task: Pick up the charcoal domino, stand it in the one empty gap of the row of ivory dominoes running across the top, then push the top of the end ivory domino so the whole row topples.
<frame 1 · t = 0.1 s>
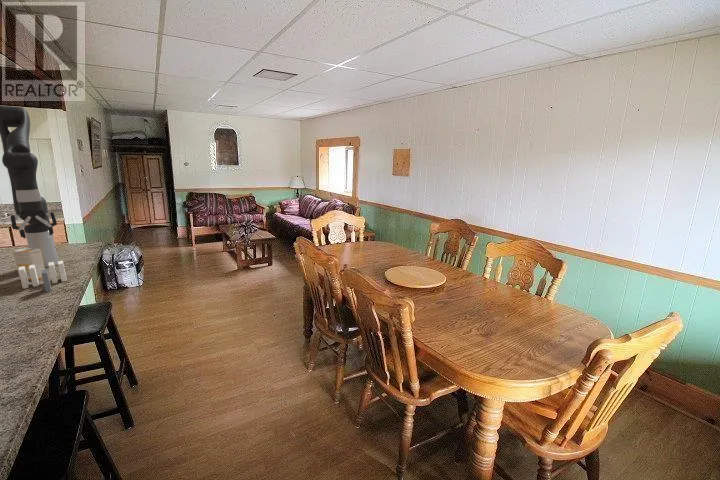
hand: (38, 236, 149), 17 cm above the table, tool pointing down, fingers open, 8 cm apart
ivory domino 5: (26, 286, 139), on the table
charcoal domino: (48, 289, 136), on the table
ivory domino 1: (64, 279, 147), on the table
supplement box: (33, 278, 147), on the table
ivory domino 4: (36, 284, 141), on the table
ivory domino 2: (55, 281, 145), on the table
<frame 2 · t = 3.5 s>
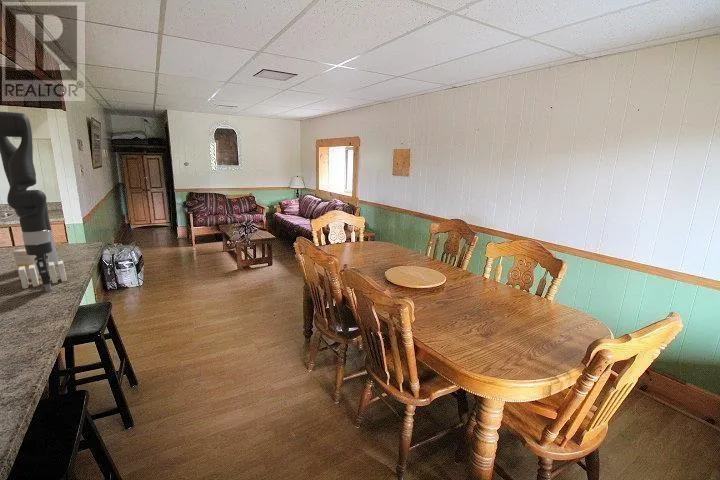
hand: (46, 281, 135), 3 cm above the table, tool pointing down, fingers closed on charcoal domino, 5 cm apart
charcoal domino: (48, 289, 136), on the table, touching gripper
everything else where it was.
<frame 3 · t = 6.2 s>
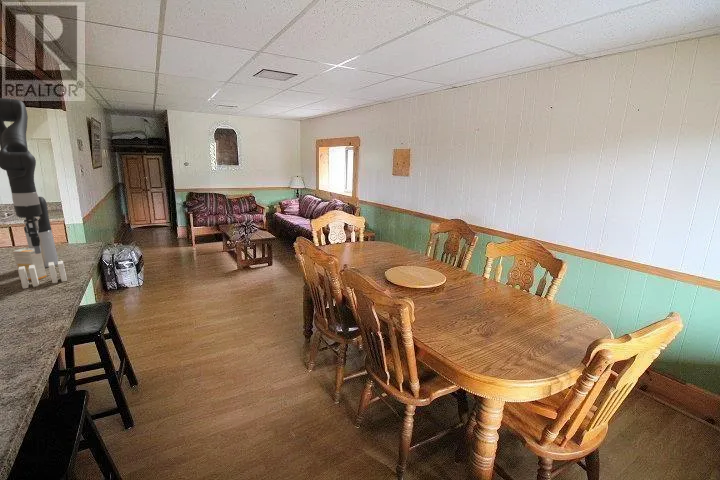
hand: (36, 244, 138), 17 cm above the table, tool pointing down, fingers closed on charcoal domino, 5 cm apart
charcoal domino: (38, 252, 139), point 14 cm above the table, touching gripper
everything else where it was.
when the fingers open (4 cm above the table, at t = 9.0 s): charcoal domino stays where it is, on the table.
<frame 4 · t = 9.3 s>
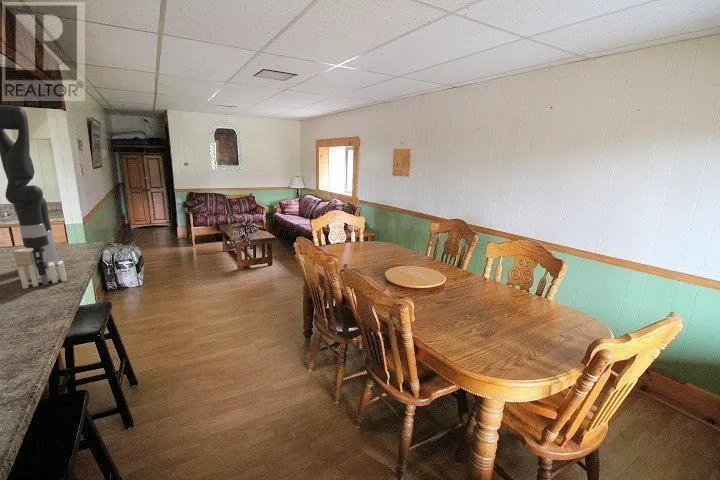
hand: (43, 272, 141), 5 cm above the table, tool pointing down, fingers open, 8 cm apart
charcoal domino: (45, 282, 143), on the table
everything else where it was.
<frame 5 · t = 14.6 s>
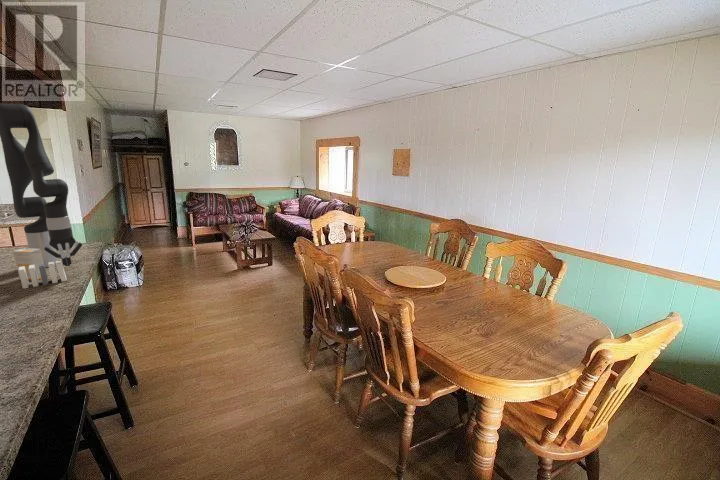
hand: (67, 265, 146), 6 cm above the table, tool pointing down, fingers closed
nothing on the table moved.
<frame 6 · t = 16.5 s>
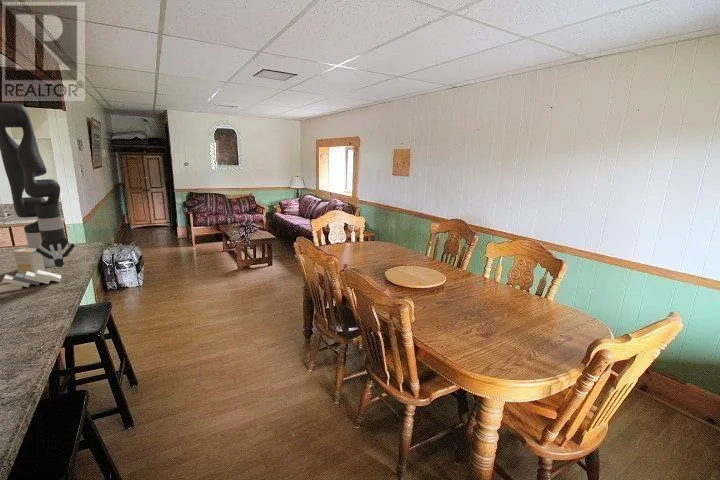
hand: (60, 266, 145), 6 cm above the table, tool pointing down, fingers closed
ivory domino 5: (22, 285, 138), on the table, tilted 90°, touching ivory domino 4
charcoal domino: (39, 282, 141), point 1 cm above the table, tilted 58°, touching ivory domino 2, ivory domino 4
ivory domino 1: (60, 278, 146), point 1 cm above the table, tilted 60°, touching ivory domino 2
ivory domino 4: (29, 283, 139), point 1 cm above the table, tilted 58°, touching charcoal domino, ivory domino 5
ivory domino 2: (49, 280, 143), point 1 cm above the table, tilted 58°, touching charcoal domino, ivory domino 1
everything else where it was.
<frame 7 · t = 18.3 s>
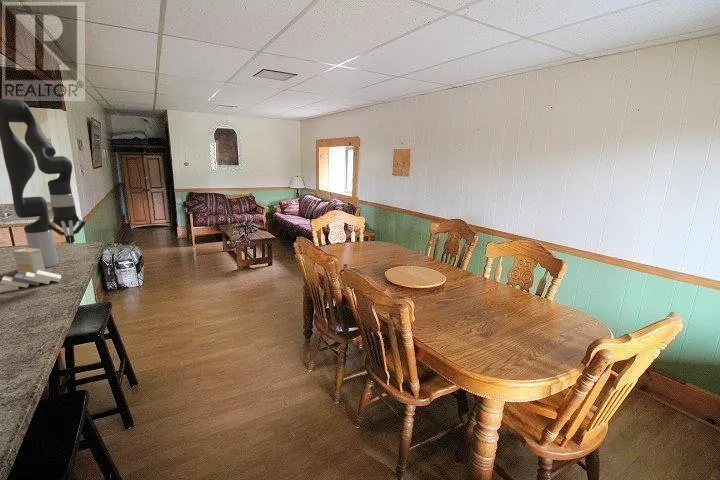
hand: (71, 243, 147), 15 cm above the table, tool pointing down, fingers closed
ivory domino 4: (28, 283, 139), point 1 cm above the table, tilted 63°, touching charcoal domino, ivory domino 5
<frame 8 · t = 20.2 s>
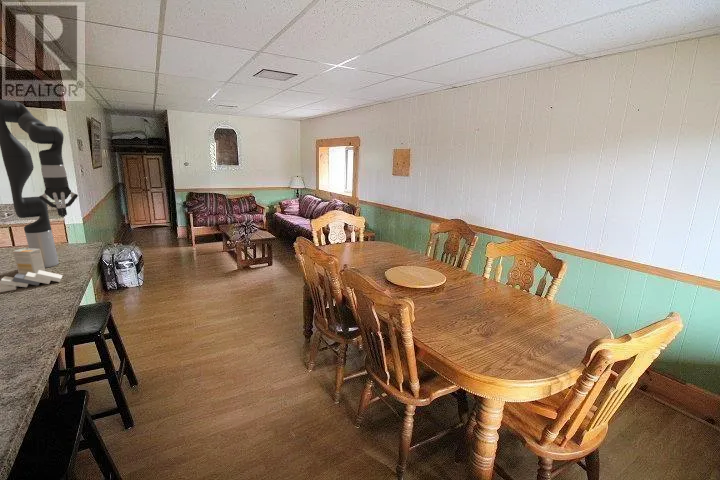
hand: (63, 216, 145), 27 cm above the table, tool pointing down, fingers closed
at the end: charcoal domino inside the target area (1.6 cm from its centre), point 0.7 cm above the table; charcoal domino tilted 62°; ivory domino 5 tilted 90° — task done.
